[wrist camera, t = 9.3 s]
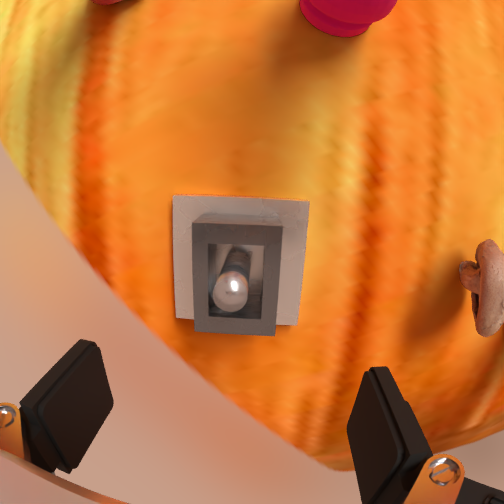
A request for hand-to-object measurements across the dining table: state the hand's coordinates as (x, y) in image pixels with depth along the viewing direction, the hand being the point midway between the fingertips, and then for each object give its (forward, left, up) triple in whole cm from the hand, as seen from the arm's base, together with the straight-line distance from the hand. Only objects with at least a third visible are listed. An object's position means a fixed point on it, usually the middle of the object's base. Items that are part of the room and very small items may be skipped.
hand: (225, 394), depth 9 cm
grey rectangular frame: (0, 0, -14) cm, 14 cm away
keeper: (+1, 0, -15) cm, 15 cm away
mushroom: (-20, 0, -16) cm, 26 cm away
